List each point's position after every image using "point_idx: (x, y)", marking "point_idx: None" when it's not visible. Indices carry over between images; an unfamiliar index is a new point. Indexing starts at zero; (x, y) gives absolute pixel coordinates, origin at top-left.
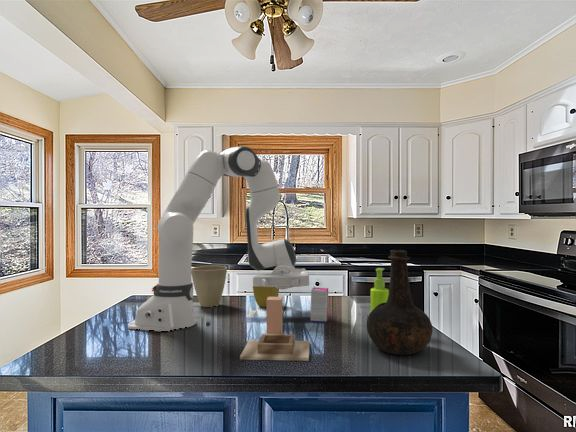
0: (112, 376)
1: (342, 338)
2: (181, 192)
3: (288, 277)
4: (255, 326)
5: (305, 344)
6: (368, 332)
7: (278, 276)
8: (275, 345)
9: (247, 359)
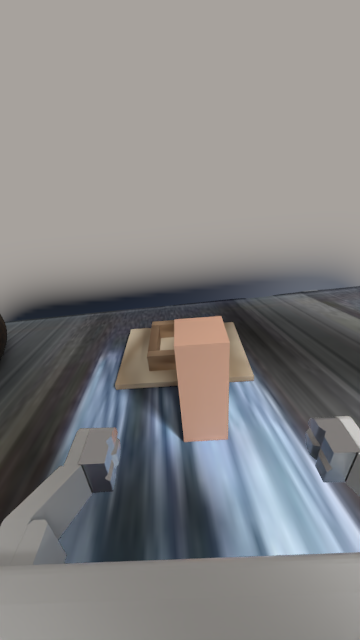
0: (350, 287)
1: (20, 431)
2: None
3: (119, 562)
4: (326, 545)
5: (127, 367)
6: (1, 343)
7: (270, 563)
8: None
9: None
